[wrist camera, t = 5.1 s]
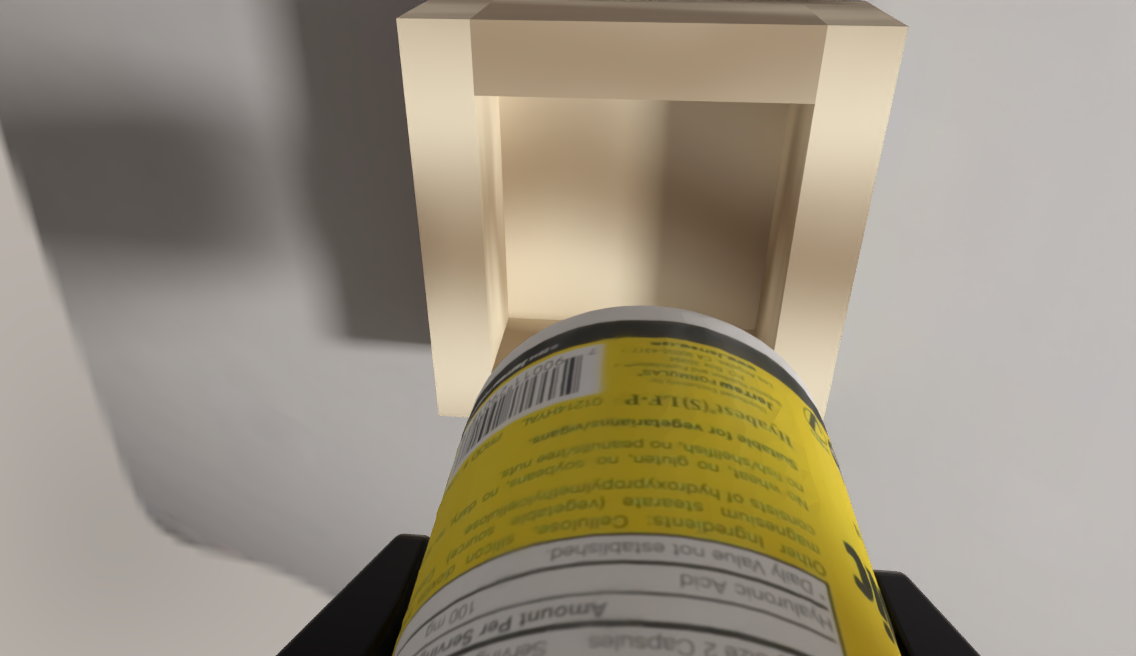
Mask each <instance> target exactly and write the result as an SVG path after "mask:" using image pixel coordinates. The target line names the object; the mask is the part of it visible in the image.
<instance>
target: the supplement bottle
mask: <svg viewBox="0 0 1136 656" xmlns="http://www.w3.org/2000/svg"><path fill="white" fill-rule="evenodd" d="M392 656H901V654H900V651H899V649H898V645H897V642H896V638H895V635H894V632H893V628H892V624H891V621H890V618H889V615H888V612H887V609H886V606H885V603H884V600H883V597H882V594H881V592H880V589H879V587H878V584H877V581H876V578H875V575H874V572H873V569H872V566H871V563H870V560H869V557H868V554H867V551H866V548H865V545H864V542H863V539H862V536H861V533H860V530H859V527H858V524H857V521H856V518H855V514H854V511H853V508H852V505H851V502H850V499H849V496H848V493H847V490H846V487H845V484H844V481H843V478H842V474H841V471H840V468H839V465H838V462H837V458H836V455H835V453H834V450H833V447H832V444H831V442H830V439H829V437H828V434H827V431H826V428H825V425H824V423H823V420H822V418H821V415H820V413H819V411H818V409H817V406H816V404H815V402H814V400H813V398H812V396H811V394H810V392H809V391H808V389H807V387H806V386H805V384H804V383H803V381H802V380H801V379H800V377H799V376H798V374H797V373H796V372H795V371H794V370H793V369H792V368H791V366H790V365H789V364H788V363H787V362H786V361H785V360H784V359H783V358H782V357H781V356H780V355H778V354H777V353H776V352H775V351H774V350H773V349H771V348H770V347H769V346H767V345H766V344H765V343H763V342H762V341H761V340H759V339H757V338H756V337H754V336H752V335H751V334H749V333H747V332H745V331H744V330H742V329H740V328H738V327H736V326H733V325H731V324H729V323H727V322H724V321H722V320H719V319H716V318H714V317H711V316H708V315H704V314H701V313H697V312H693V311H689V310H684V309H678V308H670V307H660V306H643V305H639V306H619V307H610V308H604V309H599V310H594V311H589V312H586V313H583V314H579V315H576V316H573V317H570V318H568V319H565V320H562V321H559V322H557V323H555V324H553V325H551V326H548V327H546V328H545V329H543V330H541V331H540V332H538V333H536V334H535V335H533V336H531V337H530V338H528V339H527V340H526V341H524V342H523V343H522V344H520V345H519V346H518V347H516V348H515V349H514V350H513V351H512V352H511V353H510V354H509V355H508V356H507V357H506V358H504V359H503V360H502V361H501V363H500V364H499V365H498V366H497V367H496V369H495V370H494V371H493V372H492V373H491V375H490V376H489V377H488V379H487V381H486V382H485V384H484V386H483V388H482V389H481V391H480V393H479V395H478V397H477V398H476V401H475V403H474V406H473V409H472V411H471V414H470V416H469V419H468V422H467V424H466V427H465V429H464V432H463V434H462V438H461V442H460V444H459V447H458V449H457V453H456V457H455V461H454V464H453V467H452V469H451V473H450V476H449V479H448V482H447V485H446V488H445V492H444V495H443V499H442V502H441V504H440V506H439V509H438V511H437V516H436V521H435V524H434V527H433V530H432V533H431V536H430V539H429V542H428V546H427V549H426V552H425V555H424V558H423V561H422V564H421V568H420V570H419V572H418V577H417V580H416V583H415V586H414V590H413V593H412V596H411V600H410V603H409V606H408V610H407V612H406V614H405V617H404V619H403V623H402V628H401V631H400V633H399V636H398V638H397V641H396V645H395V648H394V651H393V654H392Z"/></svg>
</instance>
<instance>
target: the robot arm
mask: <svg viewBox="0 0 1136 656" xmlns="http://www.w3.org/2000/svg"><path fill="white" fill-rule="evenodd" d="M429 539H430V537H428V536H426V535H416V534H400V535H398V536H396V537H395V538H394V539H393V540H392V541H391V542H390V543H389V544H388V545H387V546H386V547H385V548H384V549H383V550H382V551H381V552H380V553H379V554H378V555H377V556H376V557H375V558H374V559H373V560H372V561H371V562H370V563H369V564H368V565H367V566H366V567H365V568H364V569H363V570H362V571H361V572H360V573H359V574H358V575H357V576H356V577H355V578H354V579H353V580H352V581H351V582H350V583H349V584H348V585H347V586H346V587H345V588H344V589H343V590H342V591H341V592H340V593H339V594H338V595H337V596H336V597H335V598H334V599H333V600H332V601H331V602H330V603H329V604H327V605H326V606H325V607H324V608H323V609H322V610H321V612H319V614H317V615H316V617H314V619H312V620H311V621H310V623H308V624H307V625H306V626H305V628H303V629H302V631H301V632H299V633H298V634H297V635H296V636H295V637H294V638H293V639H292V640H291V642H289V643H288V644H287V645H286V646H285V647H284V648H283V649H282V650H281V651H280V652H279V653H278V655H276V656H392V654H393V651H394V648H395V645H396V641H397V638H398V636H399V633H400V631H401V628H402V623H403V619H404V617H405V614H406V612H407V610H408V606H409V603H410V600H411V596H412V593H413V590H414V586H415V583H416V580H417V577H418V572H419V570H420V568H421V564H422V561H423V558H424V555H425V552H426V549H427V546H428V542H429ZM873 572H874V575H875V578H876V581H877V584H878V587H879V589H880V592H881V594H882V597H883V600H884V603H885V606H886V609H887V612H888V615H889V618H890V621H891V624H892V628H893V632H894V635H895V638H896V642H897V645H898V649H899V651H900V654H901V656H980V655H979V654H978V652H977V651H976V650H975V649H974V648H973V647H972V646H971V645H970V644H969V643H968V642H967V641H966V639H965V638H964V637H963V636H962V635H961V634H960V633H959V632H958V631H957V630H956V629H955V628H954V626H953V625H952V624H951V623H950V622H949V621H948V620H947V619H946V618H945V617H944V616H943V615H942V613H941V612H940V611H939V610H938V609H937V608H936V607H935V606H934V605H933V604H932V603H931V601H930V600H929V599H928V598H927V597H926V596H925V595H924V594H923V593H922V592H921V591H920V590H919V588H918V587H917V586H916V585H915V584H914V583H913V582H912V581H911V580H910V579H909V578H908V577H907V576H906V575H905V574H903V573H901V572H897V571H884V570H873Z"/></svg>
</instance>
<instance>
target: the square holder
mask: <svg viewBox="0 0 1136 656" xmlns="http://www.w3.org/2000/svg"><path fill="white" fill-rule="evenodd" d="M396 22H397V31H398V40H399V49H400V59H401V68H402V77H403V87H404V96H405V105H406V114H407V124H408V133H409V142H410V152H411V161H412V170H413V179H414V189H415V198H416V207H417V217H418V226H419V235H420V244H421V254H422V263H423V272H424V282H425V291H426V300H427V309H428V319H429V328H430V337H431V347H432V356H433V365H434V374H435V384H436V393H437V402H438V412H439V416H454V417H469V416H470V414H471V411H472V409H473V406H474V403H475V401H476V398H477V397H478V395H479V393H480V391H481V389H482V388H483V386H484V384H485V382H486V381H487V379H488V377H489V376H490V375H491V373H492V372H493V371H494V370H495V369H496V367H497V366H498V365H499V364H500V363H501V361H502V360H503V359H504V358H506V357H507V356H508V355H509V354H510V353H511V352H512V351H513V350H514V349H515V348H516V347H518V346H519V345H520V344H522V343H523V342H524V341H526V340H527V339H528V338H530V337H531V336H533V335H535V334H536V333H538V332H540V331H541V330H543V329H545V328H546V327H548V326H551V325H553V324H555V323H557V322H559V321H562V320H565V319H568V318H570V317H573V316H576V315H579V314H583V313H586V312H589V311H594V310H599V309H604V308H610V307H619V306H639V305H643V306H660V307H670V308H678V309H684V310H689V311H693V312H697V313H701V314H704V315H708V316H711V317H714V318H716V319H719V320H722V321H724V322H727V323H729V324H731V325H733V326H736V327H738V328H740V329H742V330H744V331H745V332H747V333H749V334H751V335H752V336H754V337H756V338H757V339H759V340H761V341H762V342H763V343H765V344H766V345H767V346H769V347H770V348H771V349H773V350H774V351H775V352H776V353H777V354H778V355H780V356H781V357H782V358H783V359H784V360H785V361H786V362H787V363H788V364H789V365H790V366H791V368H792V369H793V370H794V371H795V372H796V373H797V374H798V376H799V377H800V379H801V380H802V381H803V383H804V384H805V386H806V387H807V389H808V391H809V392H810V394H811V396H812V398H813V400H814V402H815V404H816V406H817V409H818V411H819V413H820V415H821V418H822V420H824V415H825V411H826V406H827V402H828V397H829V392H830V388H831V383H832V378H833V374H834V369H835V364H836V360H837V355H838V351H839V346H840V341H841V337H842V332H843V327H844V323H845V318H846V314H847V309H848V304H849V300H850V295H851V290H852V286H853V281H854V276H855V272H856V267H857V263H858V258H859V253H860V249H861V244H862V239H863V235H864V230H865V225H866V221H867V216H868V212H869V207H870V202H871V198H872V193H873V188H874V184H875V179H876V175H877V170H878V165H879V161H880V156H881V151H882V147H883V142H884V137H885V133H886V128H887V124H888V119H889V114H890V110H891V105H892V100H893V96H894V91H895V86H896V82H897V77H898V73H899V68H900V63H901V59H902V54H903V49H904V45H905V40H906V36H907V31H908V26H907V25H905V24H903V23H902V22H900V21H898V20H897V19H895V18H893V17H892V16H890V15H888V14H887V13H885V12H883V11H882V10H880V9H878V8H877V7H875V6H873V5H872V4H870V3H868V2H867V1H827V0H427V1H426V2H424V3H422V4H420V5H419V6H417V7H415V8H413V9H412V10H410V11H408V12H406V13H405V14H403V15H401V16H399V17H398V18H396Z"/></svg>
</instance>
